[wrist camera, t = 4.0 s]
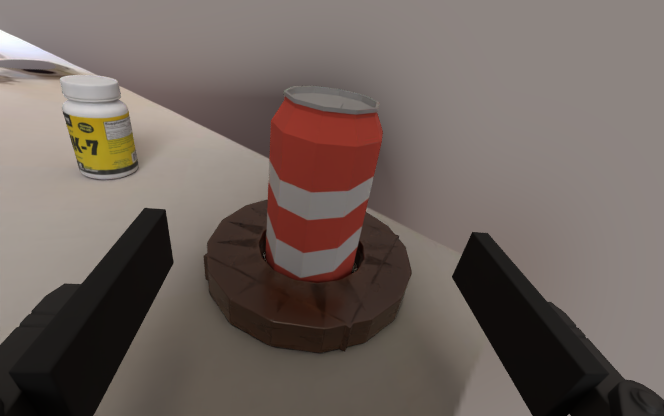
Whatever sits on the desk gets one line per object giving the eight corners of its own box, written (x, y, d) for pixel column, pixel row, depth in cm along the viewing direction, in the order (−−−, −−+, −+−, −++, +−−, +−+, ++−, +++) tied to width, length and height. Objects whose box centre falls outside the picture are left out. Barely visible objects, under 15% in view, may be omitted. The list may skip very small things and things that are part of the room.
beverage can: (252, 287, 20) (256, 97, 14) (283, 233, 26) (294, 79, 20) (344, 308, 20) (388, 121, 14) (355, 249, 25) (389, 96, 19)
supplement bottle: (68, 171, 29) (38, 75, 25) (115, 156, 33) (97, 72, 29) (105, 185, 28) (80, 88, 24) (150, 168, 32) (135, 82, 28)
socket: (420, 252, 26) (427, 233, 25) (363, 399, 15) (372, 375, 14) (282, 200, 30) (283, 181, 29) (160, 285, 19) (155, 260, 18)
